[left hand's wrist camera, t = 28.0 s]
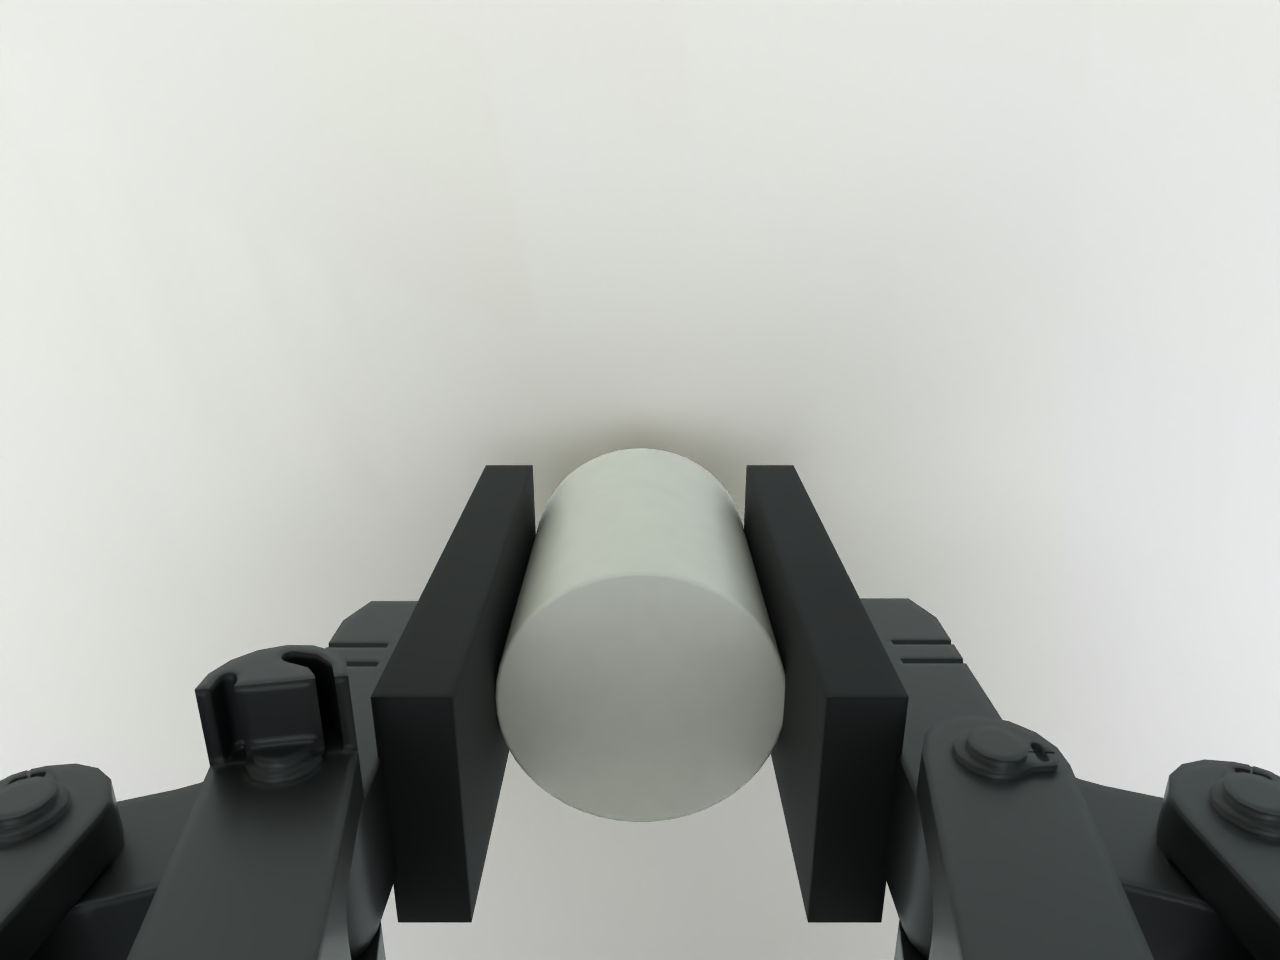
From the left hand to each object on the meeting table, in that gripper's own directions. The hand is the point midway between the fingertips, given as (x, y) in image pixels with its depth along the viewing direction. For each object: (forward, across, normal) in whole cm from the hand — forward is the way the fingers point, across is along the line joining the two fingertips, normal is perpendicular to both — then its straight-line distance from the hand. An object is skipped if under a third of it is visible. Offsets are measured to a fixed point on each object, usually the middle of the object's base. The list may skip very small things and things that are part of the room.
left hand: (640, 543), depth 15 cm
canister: (0, 0, 0) cm, 0 cm away
